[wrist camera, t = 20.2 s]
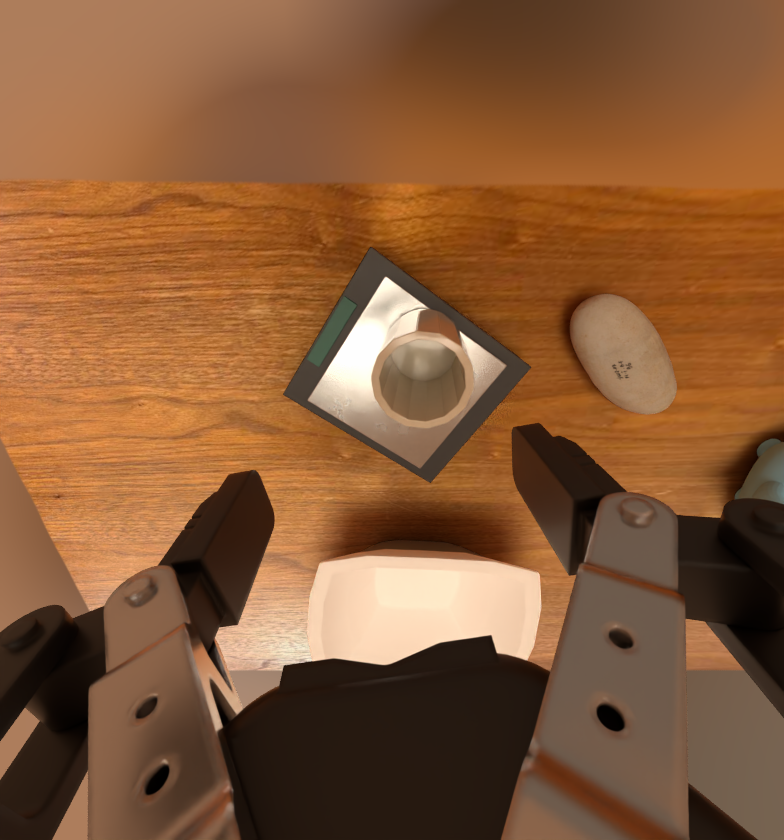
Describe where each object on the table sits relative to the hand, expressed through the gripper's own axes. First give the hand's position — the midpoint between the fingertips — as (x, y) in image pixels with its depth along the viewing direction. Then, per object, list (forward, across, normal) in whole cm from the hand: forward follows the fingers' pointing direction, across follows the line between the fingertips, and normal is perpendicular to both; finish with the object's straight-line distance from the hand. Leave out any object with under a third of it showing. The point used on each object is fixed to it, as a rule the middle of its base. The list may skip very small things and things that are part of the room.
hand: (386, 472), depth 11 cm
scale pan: (+19, -1, +4) cm, 20 cm away
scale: (+22, -2, +4) cm, 23 cm away
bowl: (+22, +1, +30) cm, 37 cm away
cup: (+18, -3, +1) cm, 19 cm away
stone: (+22, -20, +5) cm, 30 cm away
